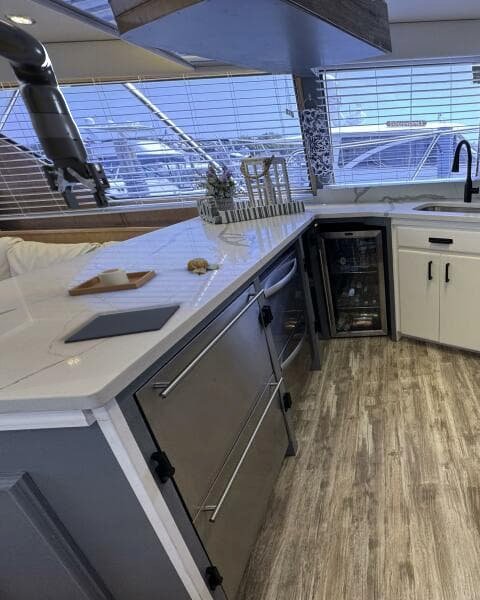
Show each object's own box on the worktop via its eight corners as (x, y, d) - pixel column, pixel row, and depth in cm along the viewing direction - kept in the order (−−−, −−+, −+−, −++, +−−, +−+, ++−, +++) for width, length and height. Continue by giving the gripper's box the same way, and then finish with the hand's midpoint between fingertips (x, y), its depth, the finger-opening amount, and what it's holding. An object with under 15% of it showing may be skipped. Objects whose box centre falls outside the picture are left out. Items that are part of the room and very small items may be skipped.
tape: (98, 289, 87) (92, 275, 86) (109, 282, 92) (104, 269, 91) (123, 286, 89) (117, 272, 87) (133, 280, 94) (127, 266, 92)
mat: (64, 343, 61) (63, 341, 61) (100, 316, 72) (99, 315, 72) (159, 329, 65) (158, 328, 65) (180, 306, 76) (179, 305, 75)
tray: (71, 298, 84) (67, 290, 83) (97, 283, 94) (94, 276, 94) (138, 290, 87) (135, 283, 86) (156, 276, 98) (154, 270, 97)
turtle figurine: (198, 275, 97) (195, 263, 96) (180, 273, 100) (177, 261, 99) (222, 267, 104) (219, 256, 103) (204, 265, 107) (201, 254, 106)
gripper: (15, 137, 73) (49, 210, 79) (69, 134, 71) (99, 209, 78) (51, 139, 80) (80, 206, 86) (101, 136, 78) (127, 205, 84)
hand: (89, 208), depth 82 cm, fingers open, 8 cm apart
